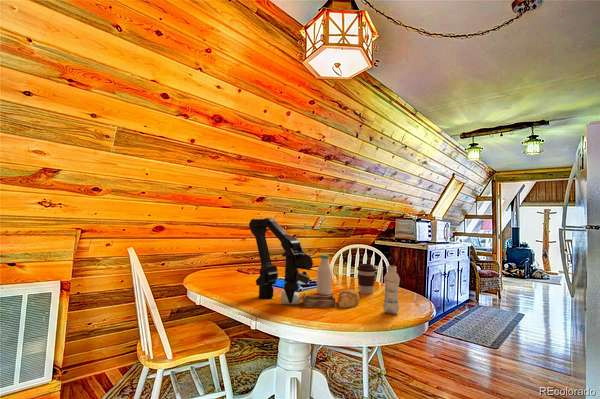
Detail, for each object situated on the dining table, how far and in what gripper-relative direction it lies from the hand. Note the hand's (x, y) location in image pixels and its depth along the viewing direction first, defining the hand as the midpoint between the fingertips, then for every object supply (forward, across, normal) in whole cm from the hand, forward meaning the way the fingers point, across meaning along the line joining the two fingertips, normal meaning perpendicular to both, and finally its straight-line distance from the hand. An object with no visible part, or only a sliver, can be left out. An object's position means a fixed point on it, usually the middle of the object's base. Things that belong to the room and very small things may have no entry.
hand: (290, 301), depth 147 cm
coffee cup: (+2, +24, -41) cm, 48 cm away
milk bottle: (+2, +21, -18) cm, 28 cm away
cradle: (+1, 0, -13) cm, 13 cm away
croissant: (+2, +3, -27) cm, 27 cm away
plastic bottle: (+2, -11, -43) cm, 44 cm away
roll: (+1, 0, 0) cm, 1 cm away
